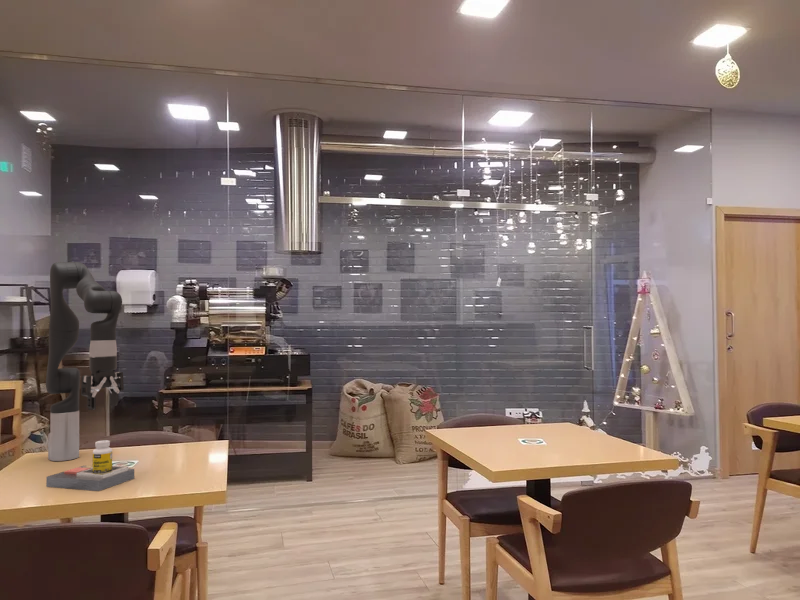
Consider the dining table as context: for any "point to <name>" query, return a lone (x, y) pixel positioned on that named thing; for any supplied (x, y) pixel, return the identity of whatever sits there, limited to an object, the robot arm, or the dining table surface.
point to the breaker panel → (91, 479)
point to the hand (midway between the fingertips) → (103, 407)
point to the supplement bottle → (102, 457)
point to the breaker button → (75, 470)
